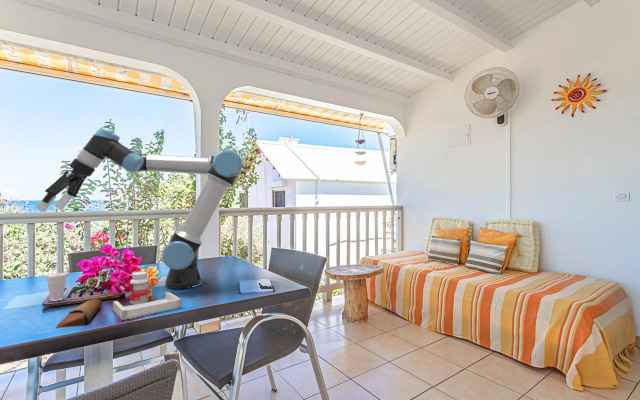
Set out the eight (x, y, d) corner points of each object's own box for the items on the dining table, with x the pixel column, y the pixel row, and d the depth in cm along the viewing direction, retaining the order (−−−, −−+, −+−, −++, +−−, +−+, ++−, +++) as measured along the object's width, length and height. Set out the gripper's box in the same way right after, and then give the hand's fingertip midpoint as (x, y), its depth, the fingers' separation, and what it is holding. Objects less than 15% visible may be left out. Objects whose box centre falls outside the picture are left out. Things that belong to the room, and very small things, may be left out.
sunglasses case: (72, 309, 110) (84, 292, 111) (93, 317, 112) (104, 300, 114) (54, 328, 93) (68, 308, 95) (78, 337, 96) (92, 317, 97)
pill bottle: (132, 300, 121) (133, 271, 121) (150, 299, 123) (150, 270, 123) (127, 305, 115) (127, 275, 115) (145, 304, 117) (146, 274, 117)
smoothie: (54, 303, 116) (55, 265, 116) (40, 302, 117) (41, 264, 118) (71, 298, 122) (72, 262, 123) (58, 297, 124) (59, 261, 124)
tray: (168, 299, 123) (168, 291, 123) (181, 308, 114) (181, 299, 114) (113, 310, 110) (113, 301, 110) (122, 320, 101) (123, 311, 101)
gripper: (88, 160, 134) (55, 202, 130) (61, 153, 110) (19, 204, 106) (106, 171, 136) (73, 212, 132) (82, 166, 112) (42, 216, 109)
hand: (49, 209), depth 119 cm, fingers open, 13 cm apart
